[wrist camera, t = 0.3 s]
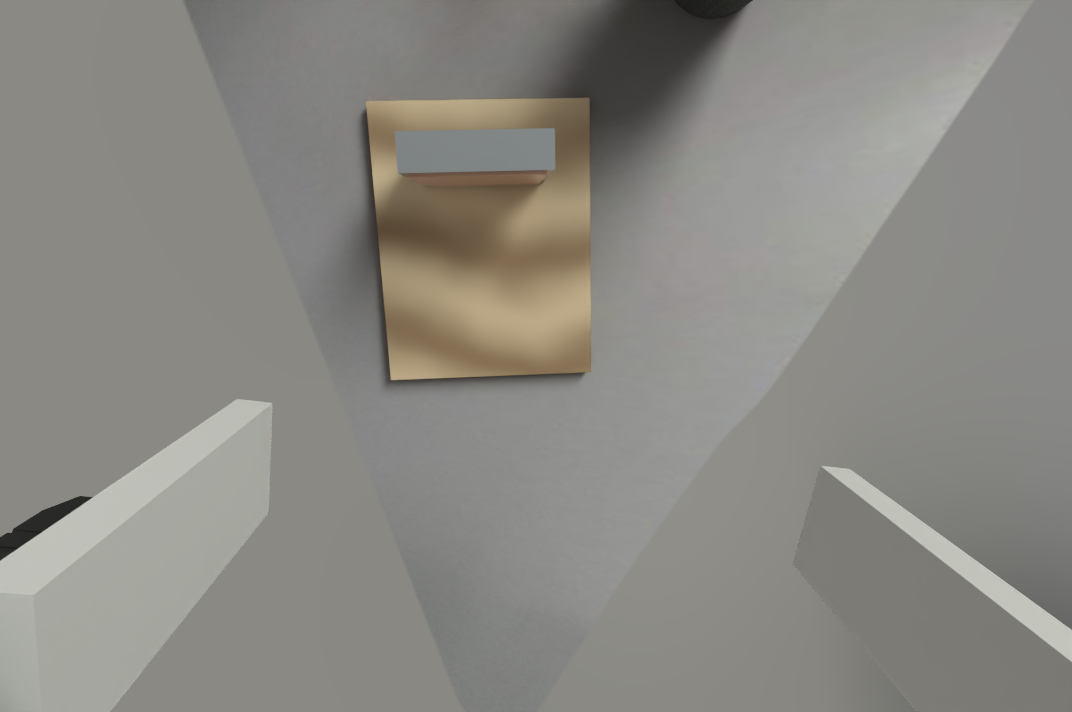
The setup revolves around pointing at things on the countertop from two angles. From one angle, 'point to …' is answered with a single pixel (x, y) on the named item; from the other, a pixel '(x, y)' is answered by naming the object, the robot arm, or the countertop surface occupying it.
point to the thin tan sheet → (485, 248)
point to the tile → (476, 156)
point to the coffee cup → (712, 7)
